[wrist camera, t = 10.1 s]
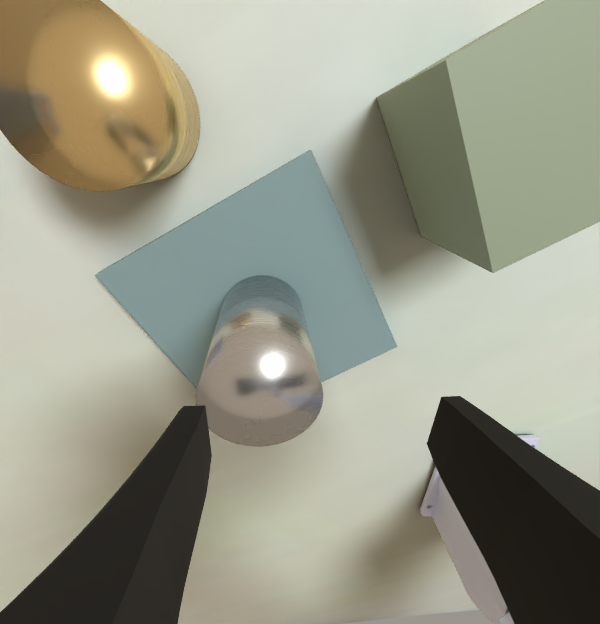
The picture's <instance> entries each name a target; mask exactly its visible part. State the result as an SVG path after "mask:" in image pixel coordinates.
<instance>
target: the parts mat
mask: <svg viewBox="0 0 600 624" xmlns="http://www.w3.org/2000/svg"><path fill="white" fill-rule="evenodd" d="M256 275H267V276H273V277H276V278H279V279H281V280H283V281H285V282H286V283H288V284H289V285H290V286H291V287H292V288H293V289H294V290H295V291H296V293H297V294H298V296H299V298H300V301H301V304H302V308H303V312H304V316H305V320H306V324H307V328H308V332H309V336H310V340H311V344H312V348H313V352H314V356H315V361H316V365H317V369H318V373H319V377H320V381H321V382H323V381H325V380H327V379H330V378H332V377H334V376H336V375H338V374H340V373H342V372H344V371H347V370H349V369H351V368H353V367H355V366H357V365H359V364H361V363H364V362H366V361H368V360H370V359H372V358H374V357H376V356H379V355H381V354H383V353H385V352H387V351H389V350H391V349H393V348H396V347H397V345H396V343H395V340H394V338H393V336H392V333H391V331H390V329H389V327H388V324H387V322H386V320H385V317H384V315H383V313H382V311H381V308H380V306H379V304H378V301H377V299H376V297H375V295H374V292H373V290H372V288H371V286H370V283H369V281H368V279H367V276H366V274H365V272H364V270H363V267H362V265H361V263H360V260H359V258H358V256H357V254H356V251H355V249H354V247H353V244H352V242H351V240H350V238H349V235H348V233H347V231H346V229H345V226H344V224H343V222H342V219H341V217H340V215H339V213H338V210H337V208H336V206H335V203H334V201H333V199H332V197H331V194H330V192H329V190H328V187H327V185H326V183H325V181H324V178H323V176H322V174H321V172H320V169H319V167H318V165H317V162H316V160H315V158H314V156H313V153H312V151H311V150H309V151H307V152H306V153H304V154H302V155H300V156H299V157H297V158H295V159H294V160H292V161H290V162H288V163H287V164H285V165H283V166H281V167H280V168H278V169H276V170H275V171H273V172H271V173H269V174H268V175H266V176H264V177H262V178H261V179H259V180H257V181H256V182H254V183H252V184H250V185H249V186H247V187H245V188H243V189H242V190H240V191H238V192H237V193H235V194H233V195H231V196H230V197H228V198H226V199H224V200H223V201H221V202H219V203H218V204H216V205H214V206H212V207H211V208H209V209H207V210H205V211H204V212H202V213H200V214H199V215H197V216H195V217H193V218H192V219H190V220H188V221H186V222H185V223H183V224H181V225H180V226H178V227H176V228H174V229H173V230H171V231H169V232H168V233H166V234H164V235H162V236H161V237H159V238H157V239H155V240H154V241H152V242H150V243H149V244H147V245H145V246H143V247H142V248H140V249H138V250H136V251H135V252H133V253H131V254H130V255H128V256H126V257H124V258H123V259H121V260H119V261H117V262H116V263H114V264H112V265H111V266H109V267H107V268H105V269H104V270H102V271H101V272H99V273H98V274H96V275H95V276H96V277H97V278H98V280H99V281H100V282H101V283H102V284H103V285H104V286H105V287H106V288H107V290H108V291H109V292H110V293H111V294H112V295H113V296H114V297H115V298H116V300H117V301H118V302H119V303H120V304H121V305H122V306H123V307H124V308H125V310H126V311H127V312H128V313H129V314H130V315H131V316H132V317H133V318H134V320H135V321H136V322H137V323H138V324H139V325H140V326H141V327H142V328H143V330H144V331H145V332H146V333H147V334H148V335H149V336H150V337H151V338H152V340H153V341H154V342H155V343H156V344H157V345H158V346H159V347H160V348H161V350H162V351H163V352H164V353H165V354H166V355H167V356H168V357H169V358H170V360H171V361H172V362H173V363H174V364H175V365H176V366H177V367H178V368H179V370H180V371H181V372H182V373H183V374H184V375H185V376H186V377H187V378H188V380H189V381H190V382H191V383H192V384H193V385H194V386H195V387H196V388H198V384H199V381H200V378H201V374H202V371H203V368H204V364H205V361H206V358H207V354H208V351H209V348H210V344H211V341H212V338H213V334H214V331H215V328H216V324H217V321H218V318H219V314H220V311H221V308H222V304H223V301H224V298H225V296H226V294H227V293H228V291H229V290H230V289H231V288H232V287H233V286H234V285H235V284H236V283H238V282H239V281H241V280H243V279H245V278H248V277H251V276H256Z"/></svg>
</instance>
